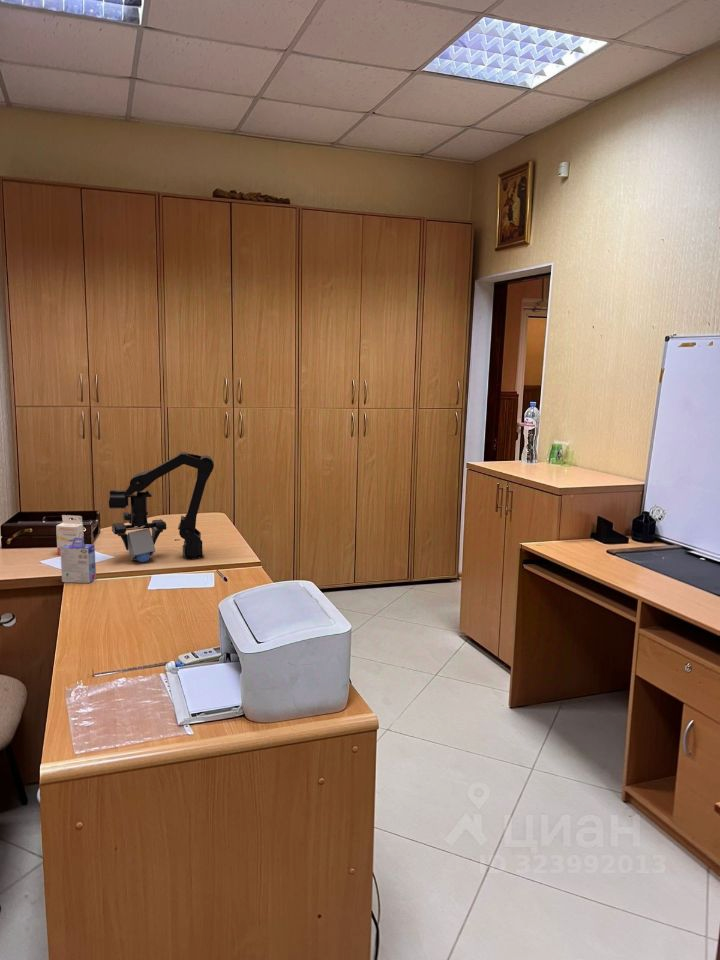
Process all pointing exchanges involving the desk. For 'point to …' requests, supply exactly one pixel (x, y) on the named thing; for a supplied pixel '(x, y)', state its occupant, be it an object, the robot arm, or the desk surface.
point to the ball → (143, 557)
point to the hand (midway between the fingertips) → (139, 548)
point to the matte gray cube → (140, 543)
